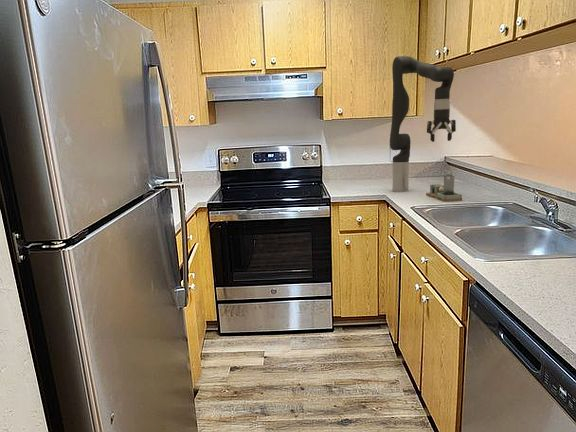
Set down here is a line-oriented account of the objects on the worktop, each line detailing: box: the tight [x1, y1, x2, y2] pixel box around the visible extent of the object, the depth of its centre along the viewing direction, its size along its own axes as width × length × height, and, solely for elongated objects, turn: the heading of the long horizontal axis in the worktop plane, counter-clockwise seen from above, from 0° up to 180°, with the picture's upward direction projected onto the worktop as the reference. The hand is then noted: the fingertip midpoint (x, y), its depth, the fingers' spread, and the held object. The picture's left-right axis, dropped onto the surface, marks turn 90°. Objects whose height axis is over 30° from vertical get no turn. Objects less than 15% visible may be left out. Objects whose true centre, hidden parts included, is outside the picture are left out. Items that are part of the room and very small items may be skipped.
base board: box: [425, 192, 463, 203], centre depth 238 cm, size 21×10×1 cm, turn 8°
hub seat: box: [437, 191, 463, 199], centre depth 232 cm, size 9×9×2 cm
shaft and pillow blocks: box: [429, 183, 444, 195], centre depth 243 cm, size 9×5×5 cm, turn 7°
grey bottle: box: [443, 171, 455, 196], centre depth 230 cm, size 5×5×13 cm
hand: (440, 141), depth 229 cm, fingers open, 8 cm apart
